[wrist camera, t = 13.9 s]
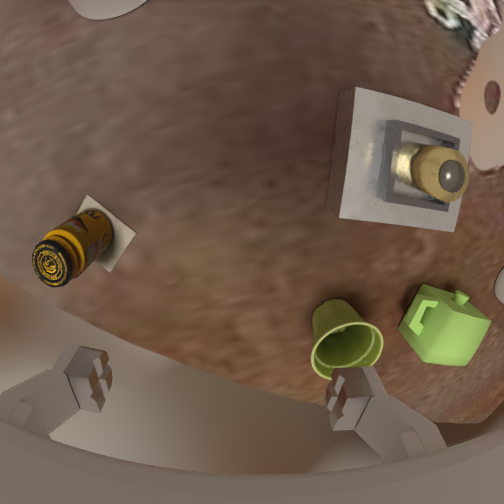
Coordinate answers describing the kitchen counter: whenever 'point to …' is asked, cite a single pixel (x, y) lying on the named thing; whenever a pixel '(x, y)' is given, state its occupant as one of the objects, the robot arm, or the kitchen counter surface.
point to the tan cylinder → (433, 170)
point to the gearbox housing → (388, 159)
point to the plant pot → (342, 338)
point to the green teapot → (443, 326)
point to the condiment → (81, 244)
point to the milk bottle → (500, 286)
